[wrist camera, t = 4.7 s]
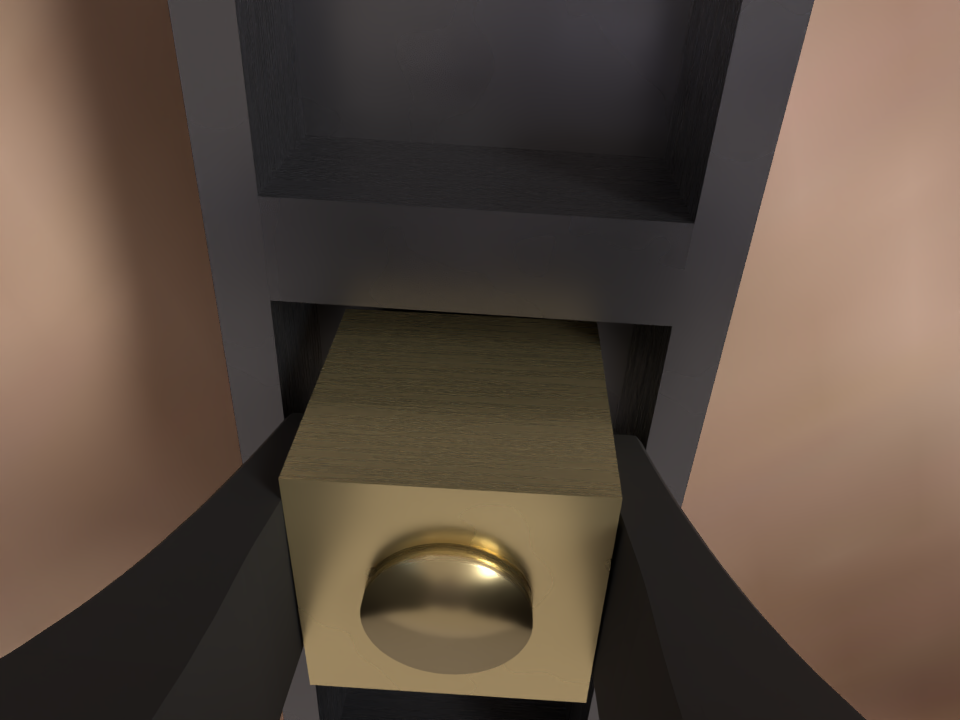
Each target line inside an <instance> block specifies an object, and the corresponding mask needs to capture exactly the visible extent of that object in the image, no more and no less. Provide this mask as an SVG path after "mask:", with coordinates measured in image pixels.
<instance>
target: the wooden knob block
mask: <svg viewBox="0 0 960 720" xmlns="http://www.w3.org/2000/svg"><path fill="white" fill-rule="evenodd" d="M278 480H279V486H280V493H281V499H282V506H283V512H284V519H285V525H286V531H287V538H288V544H289V551H290V557H291V564H292V570H293V577H294V583H295V590H296V596H297V603H298V609H299V616H300V622H301V629H302V635H303V642H304V648H305V655H306V661H307V668H308V674H309V681H310V685H323V686H338V687H353V688H369V689H384V690H399V691H414V692H430V693H445V694H460V695H475V696H491V697H506V698H521V699H536V700H552V701H567V702H582V703H586V700H587V694H588V689H589V683H590V678H591V672H592V666H593V661H594V655H595V650H596V644H597V638H598V633H599V627H600V622H601V616H602V610H603V605H604V599H605V594H606V588H607V582H608V577H609V571H610V566H611V560H612V554H613V549H614V543H615V538H616V532H617V526H618V521H619V515H620V510H621V504H622V492H621V485H620V478H619V472H618V465H617V458H616V451H615V444H614V437H613V430H612V423H611V416H610V409H609V402H608V395H607V388H606V381H605V374H604V367H603V360H602V354H601V347H600V340H599V333H598V326H597V322H591V321H572V320H553V319H533V318H514V317H495V316H476V315H456V314H437V313H418V312H398V311H379V310H360V309H346V310H345V313H344V315H343V318H342V320H341V323H340V325H339V328H338V330H337V333H336V335H335V338H334V340H333V343H332V345H331V348H330V350H329V353H328V355H327V358H326V360H325V363H324V365H323V368H322V370H321V373H320V375H319V378H318V380H317V383H316V385H315V388H314V390H313V393H312V396H311V398H310V401H309V403H308V406H307V408H306V411H305V413H304V416H303V418H302V421H301V423H300V426H299V428H298V431H297V433H296V436H295V438H294V441H293V443H292V446H291V448H290V451H289V453H288V456H287V458H286V461H285V463H284V466H283V468H282V471H281V473H280V476H279V478H278Z"/></svg>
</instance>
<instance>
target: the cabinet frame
mask: <svg viewBox="0 0 960 720" xmlns="http://www.w3.org/2000/svg"><path fill="white" fill-rule="evenodd" d="M813 3H814V0H168V6H169V12H170V19H171V25H172V31H173V37H174V43H175V49H176V56H177V62H178V68H179V74H180V80H181V87H182V93H183V99H184V105H185V111H186V117H187V124H188V130H189V136H190V142H191V148H192V154H193V161H194V167H195V173H196V179H197V185H198V192H199V198H200V204H201V210H202V216H203V222H204V229H205V235H206V241H207V247H208V253H209V259H210V266H211V272H212V278H213V284H214V290H215V296H216V303H217V309H218V315H219V321H220V327H221V334H222V340H223V346H224V352H225V358H226V364H227V371H228V377H229V383H230V389H231V395H232V401H233V408H234V414H235V420H236V426H237V432H238V439H239V445H240V451H241V457H242V463H243V464H244V463H245V462H246V461H247V460H248V459H249V457H250V456H251V455H252V454H253V453H254V452H255V451H256V450H257V449H258V448H259V447H260V446H261V445H262V444H263V442H264V441H265V440H266V439H267V438H268V437H269V436H270V435H271V434H272V433H273V432H274V430H275V429H276V428H277V427H278V426H279V425H280V424H281V423H282V422H283V421H284V419H285V418H287V417H288V416H289V415H290V414H292V413H301V414H304V413H305V411H306V408H307V406H308V403H309V401H310V398H311V396H312V393H313V390H314V388H315V385H316V383H317V380H318V378H319V375H320V373H321V370H322V368H323V365H324V363H325V360H326V358H327V355H328V353H329V350H330V348H331V345H332V343H333V340H334V338H335V335H336V333H337V330H338V328H339V325H340V323H341V320H342V318H343V315H344V313H345V310H346V309H360V310H379V311H398V312H418V313H437V314H456V315H476V316H495V317H514V318H533V319H553V320H572V321H591V322H597V326H598V333H599V340H600V347H601V354H602V360H603V367H604V374H605V381H606V388H607V395H608V402H609V409H610V416H611V423H612V430H613V434H618V435H633V436H636V437H637V438H638V439H639V440H640V441H641V443H642V444H643V446H644V448H645V450H646V452H647V453H648V455H649V457H650V459H651V460H652V462H653V464H654V466H655V467H656V469H657V471H658V472H659V474H660V476H661V477H662V479H663V481H664V482H665V484H666V485H667V487H668V489H669V490H670V492H671V493H672V495H673V496H674V498H675V500H676V501H677V503H678V504H679V506H680V507H681V506H682V502H683V499H684V495H685V491H686V487H687V483H688V480H689V476H690V472H691V468H692V464H693V461H694V457H695V453H696V449H697V445H698V442H699V438H700V434H701V430H702V426H703V422H704V419H705V415H706V411H707V407H708V403H709V400H710V396H711V392H712V388H713V384H714V381H715V377H716V373H717V369H718V365H719V362H720V358H721V354H722V350H723V346H724V342H725V339H726V335H727V331H728V327H729V323H730V320H731V316H732V312H733V308H734V304H735V301H736V297H737V293H738V289H739V285H740V281H741V278H742V274H743V270H744V266H745V262H746V259H747V255H748V251H749V247H750V243H751V240H752V236H753V232H754V228H755V224H756V221H757V217H758V213H759V209H760V205H761V201H762V198H763V194H764V190H765V186H766V182H767V179H768V175H769V171H770V167H771V163H772V160H773V156H774V152H775V148H776V144H777V141H778V137H779V133H780V129H781V125H782V121H783V118H784V114H785V110H786V106H787V102H788V99H789V95H790V91H791V87H792V83H793V80H794V76H795V72H796V68H797V64H798V61H799V57H800V53H801V49H802V45H803V41H804V38H805V34H806V30H807V26H808V22H809V19H810V15H811V11H812V7H813ZM283 716H284V720H599V715H598V708H597V701H596V695H595V688H594V681H593V674H592V672H591V678H590V683H589V689H588V694H587V700H586V703H582V702H567V701H552V700H536V699H521V698H506V697H491V696H475V695H460V694H445V693H430V692H414V691H399V690H384V689H369V688H353V687H338V686H323V685H310V681H309V674H308V668H307V661H306V655H305V648H304V647H303V650H302V653H301V656H300V659H299V662H298V665H297V668H296V671H295V674H294V677H293V680H292V683H291V686H290V689H289V692H288V695H287V698H286V701H285V704H284V707H283Z"/></svg>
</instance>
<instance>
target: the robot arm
mask: <svg viewBox="0 0 960 720" xmlns="http://www.w3.org/2000/svg"><path fill="white" fill-rule="evenodd" d="M303 416H304V414H301V413H292V414H290V415H289V416H288V417H287V418H285V419H284V421H283V422H282V423H281V424H280V425H279V426H278V427H277V428H276V429H275V430H274V432H273V433H272V434H271V435H270V436H269V437H268V438H267V439H266V440H265V441H264V442H263V444H262V445H261V446H260V447H259V448H258V449H257V450H256V451H255V452H254V453H253V454H252V455H251V456H250V457H249V459H248V460H247V461H246V462H245V463H244V464H243V465H242V466H241V467H240V468H239V469H238V470H237V471H236V472H235V473H234V474H233V475H232V476H231V477H230V478H229V479H228V480H227V481H226V482H225V483H224V484H223V485H222V486H221V487H220V488H219V489H218V490H217V491H216V492H215V493H214V494H213V495H212V496H211V497H210V498H209V499H208V500H207V501H206V502H205V503H204V504H203V505H202V506H201V507H200V508H199V509H198V510H197V511H196V512H194V513H193V514H192V515H191V516H190V517H189V518H188V519H187V520H186V521H184V522H183V523H182V524H181V525H180V526H179V527H178V528H177V529H176V530H174V531H173V532H172V533H171V534H170V535H169V536H168V537H167V538H166V539H164V540H163V541H162V542H161V543H160V544H159V545H158V546H157V547H155V548H154V549H153V550H152V551H151V552H150V553H148V554H147V555H146V556H145V557H144V558H142V559H141V560H140V561H139V562H137V563H136V564H135V565H134V566H133V567H131V568H130V569H129V570H128V571H126V572H125V573H124V574H123V575H121V576H120V577H119V578H117V579H116V580H115V581H113V582H112V583H111V584H110V585H108V586H107V587H106V588H104V589H103V590H102V591H100V592H99V593H98V594H96V595H95V596H94V597H92V598H91V599H90V600H88V601H87V602H85V603H84V604H82V605H81V606H80V607H78V608H77V609H75V610H74V611H72V612H71V613H70V614H68V615H67V616H65V617H64V618H62V619H61V620H59V621H58V622H56V623H55V624H53V625H52V626H50V627H49V628H47V629H46V630H44V631H43V632H41V633H40V634H38V635H37V636H35V637H34V638H32V639H31V640H29V641H28V642H26V643H25V644H23V645H22V646H20V647H19V648H17V649H15V650H14V651H12V652H11V653H9V654H7V655H6V656H4V657H2V658H1V659H0V720H280V717H281V713H282V710H283V707H284V704H285V701H286V698H287V695H288V692H289V689H290V686H291V683H292V680H293V677H294V674H295V671H296V668H297V665H298V662H299V659H300V656H301V653H302V650H303V647H304V642H303V635H302V629H301V622H300V616H299V609H298V603H297V596H296V590H295V583H294V577H293V570H292V564H291V557H290V551H289V544H288V538H287V531H286V525H285V519H284V512H283V506H282V499H281V493H280V486H279V480H278V478H279V476H280V473H281V471H282V468H283V466H284V463H285V461H286V458H287V456H288V453H289V451H290V448H291V446H292V443H293V441H294V438H295V436H296V433H297V431H298V428H299V426H300V423H301V421H302V418H303ZM613 437H614V444H615V451H616V458H617V465H618V472H619V478H620V485H621V492H622V504H621V510H620V515H619V521H618V526H617V532H616V538H615V543H614V549H613V554H612V560H611V566H610V571H609V577H608V582H607V588H606V594H605V599H604V605H603V610H602V616H601V622H600V627H599V633H598V638H597V644H596V650H595V655H594V661H593V666H592V674H593V681H594V688H595V695H596V701H597V708H598V715H599V720H866V719H865V718H864V717H863V716H862V715H861V714H859V713H858V712H857V711H856V710H855V709H854V708H853V707H852V706H851V705H850V704H849V703H848V702H847V701H846V700H844V699H843V698H842V697H841V696H840V695H839V694H838V693H837V692H836V691H835V690H834V689H833V688H832V687H830V686H829V685H828V684H827V683H826V682H825V681H824V680H823V679H822V678H821V677H820V676H819V675H818V674H817V673H816V672H815V671H814V670H813V669H812V668H811V667H810V666H809V665H808V664H807V663H806V662H805V661H804V660H803V659H802V658H801V657H800V656H799V655H798V654H797V653H796V652H795V651H794V650H793V649H792V648H791V647H790V646H789V645H788V643H787V642H786V641H785V640H784V639H783V638H782V637H781V636H780V635H779V634H778V632H777V631H776V630H775V629H774V628H773V627H772V626H771V625H770V624H769V623H768V621H767V620H766V619H765V618H764V617H763V616H762V615H761V613H760V612H759V611H758V610H757V609H756V608H755V606H754V605H753V604H752V603H751V602H750V600H749V599H748V598H747V597H746V596H745V594H744V593H743V592H742V591H741V589H740V588H739V587H738V586H737V584H736V583H735V582H734V581H733V579H732V578H731V577H730V575H729V574H728V573H727V572H726V570H725V569H724V568H723V567H722V565H721V564H720V563H719V561H718V560H717V559H716V557H715V556H714V554H713V553H712V552H711V550H710V549H709V548H708V546H707V545H706V543H705V542H704V541H703V539H702V538H701V536H700V535H699V533H698V532H697V531H696V529H695V528H694V526H693V525H692V523H691V522H690V521H689V519H688V518H687V516H686V515H685V513H684V512H683V510H682V509H681V507H680V506H679V504H678V503H677V501H676V500H675V498H674V496H673V495H672V493H671V492H670V490H669V489H668V487H667V485H666V484H665V482H664V481H663V479H662V477H661V476H660V474H659V472H658V471H657V469H656V467H655V466H654V464H653V462H652V460H651V459H650V457H649V455H648V453H647V452H646V450H645V448H644V446H643V444H642V443H641V441H640V440H639V439H638V438H637V437H636V436H633V435H618V434H613Z"/></svg>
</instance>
